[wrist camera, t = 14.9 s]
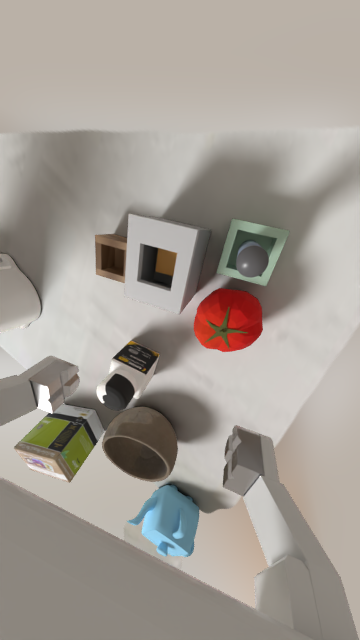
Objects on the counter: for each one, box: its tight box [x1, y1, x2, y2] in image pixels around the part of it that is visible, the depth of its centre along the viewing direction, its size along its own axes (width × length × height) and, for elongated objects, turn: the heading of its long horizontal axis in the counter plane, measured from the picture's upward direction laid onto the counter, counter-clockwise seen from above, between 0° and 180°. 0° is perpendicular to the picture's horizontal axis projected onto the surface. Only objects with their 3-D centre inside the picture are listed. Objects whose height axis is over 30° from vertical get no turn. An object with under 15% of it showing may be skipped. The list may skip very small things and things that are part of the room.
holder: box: [95, 234, 127, 283], centre depth 31 cm, size 6×6×4 cm
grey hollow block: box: [124, 214, 211, 315], centre depth 26 cm, size 8×10×9 cm
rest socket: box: [217, 218, 290, 286], centre depth 25 cm, size 7×7×4 cm
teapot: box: [127, 485, 199, 557], centre depth 58 cm, size 18×16×14 cm
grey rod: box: [236, 240, 269, 278], centre depth 22 cm, size 3×3×10 cm
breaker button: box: [156, 248, 177, 276], centre depth 27 cm, size 3×3×2 cm
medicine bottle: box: [97, 341, 160, 411], centre depth 37 cm, size 7×7×12 cm
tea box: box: [14, 404, 104, 482], centre depth 55 cm, size 15×10×15 cm
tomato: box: [194, 288, 263, 352], centre depth 28 cm, size 9×10×8 cm
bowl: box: [102, 407, 178, 482], centre depth 46 cm, size 17×18×10 cm
